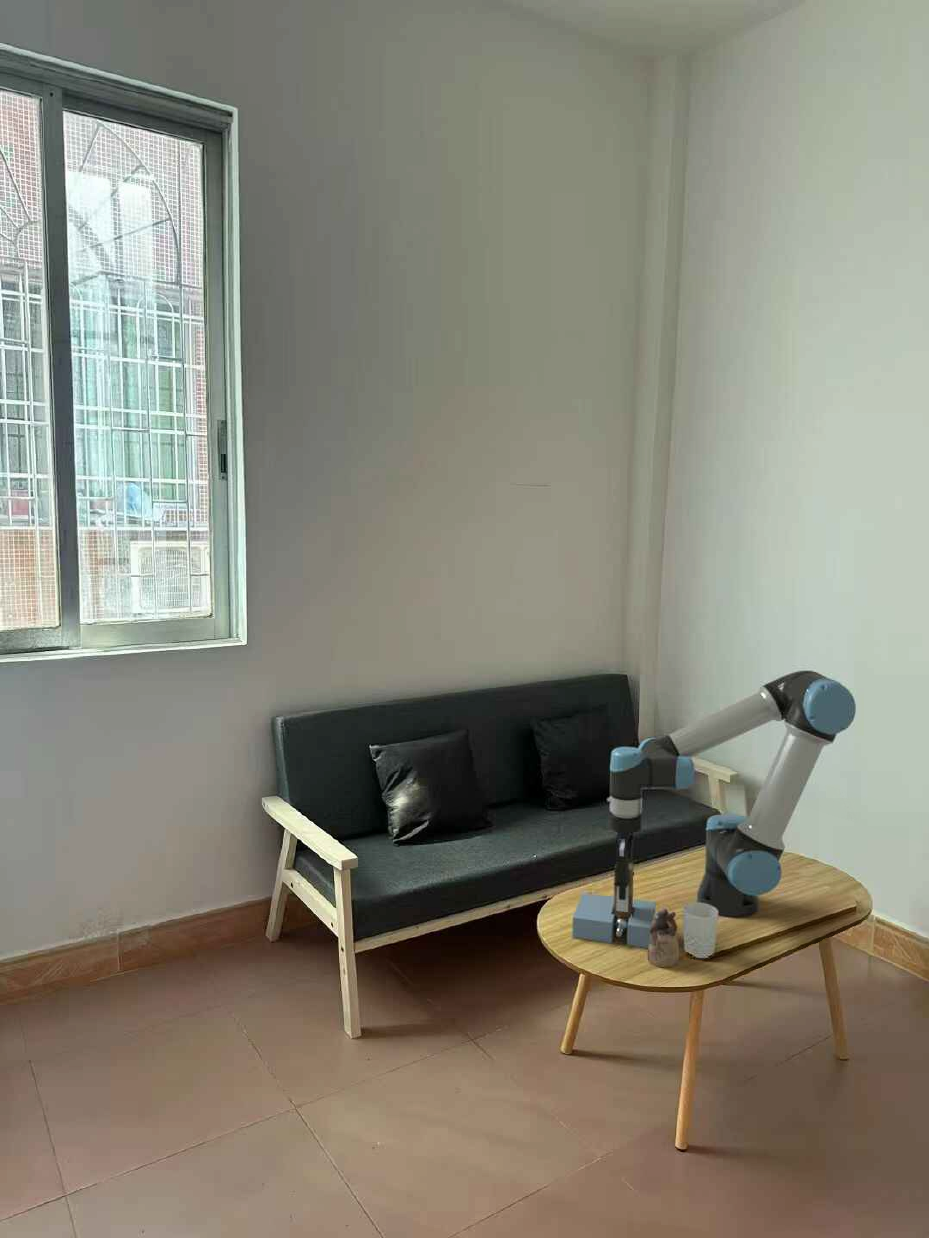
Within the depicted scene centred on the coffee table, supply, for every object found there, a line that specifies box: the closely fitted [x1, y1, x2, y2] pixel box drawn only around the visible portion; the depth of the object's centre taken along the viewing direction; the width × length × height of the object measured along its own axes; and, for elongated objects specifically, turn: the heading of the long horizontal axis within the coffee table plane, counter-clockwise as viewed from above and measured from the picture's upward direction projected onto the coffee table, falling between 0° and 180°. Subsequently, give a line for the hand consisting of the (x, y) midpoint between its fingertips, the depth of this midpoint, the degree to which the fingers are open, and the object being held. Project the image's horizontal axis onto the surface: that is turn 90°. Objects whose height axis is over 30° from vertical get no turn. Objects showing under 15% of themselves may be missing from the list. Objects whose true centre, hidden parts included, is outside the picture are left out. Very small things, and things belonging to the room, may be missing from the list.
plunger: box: [614, 917, 628, 938], centre depth 210 cm, size 3×6×3 cm, turn 163°
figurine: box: [646, 908, 680, 968], centre depth 200 cm, size 7×7×12 cm
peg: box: [613, 862, 635, 917], centre depth 213 cm, size 4×4×12 cm
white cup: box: [682, 902, 719, 959], centre depth 204 cm, size 8×8×10 cm
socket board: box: [572, 892, 656, 949], centre depth 215 cm, size 18×14×5 cm
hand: (623, 906), depth 214 cm, fingers closed on peg, 4 cm apart
